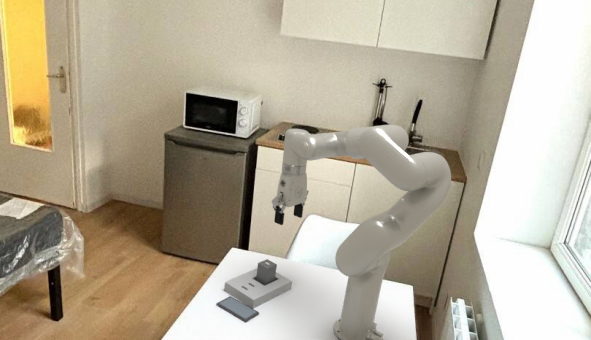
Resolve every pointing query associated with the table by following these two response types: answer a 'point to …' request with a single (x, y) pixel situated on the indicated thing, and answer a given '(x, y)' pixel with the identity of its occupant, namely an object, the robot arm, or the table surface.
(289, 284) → the outlet plate
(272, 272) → the block
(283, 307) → the table surface
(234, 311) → the phone
